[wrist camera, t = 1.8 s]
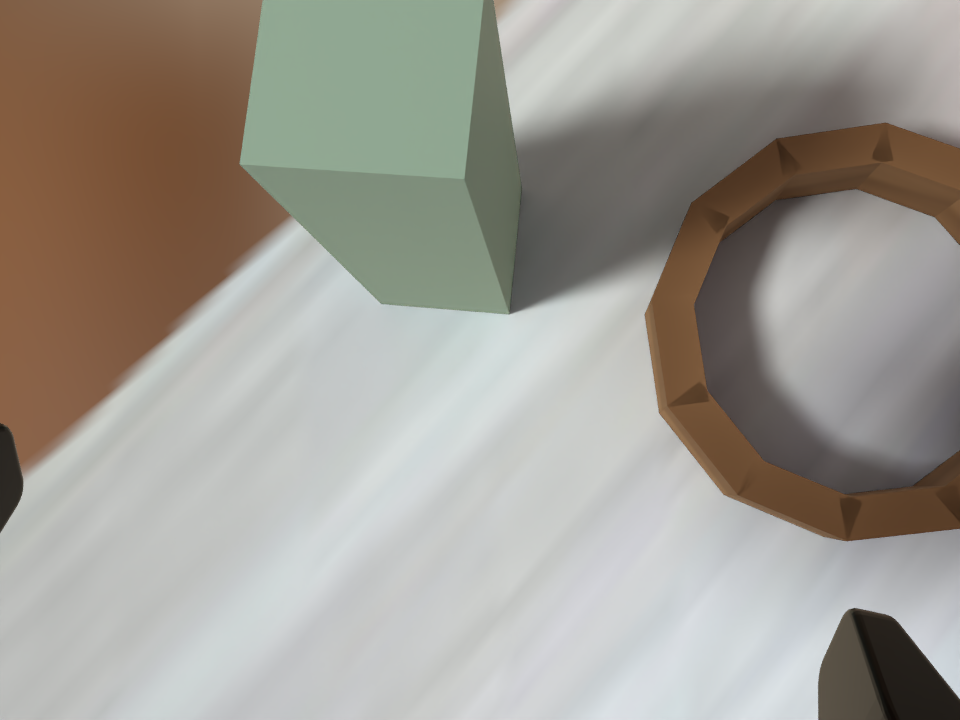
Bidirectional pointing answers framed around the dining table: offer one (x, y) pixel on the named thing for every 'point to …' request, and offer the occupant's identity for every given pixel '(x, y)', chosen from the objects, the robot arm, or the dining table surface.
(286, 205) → the green rectangular block
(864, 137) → the walnut ring
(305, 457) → the dining table surface
